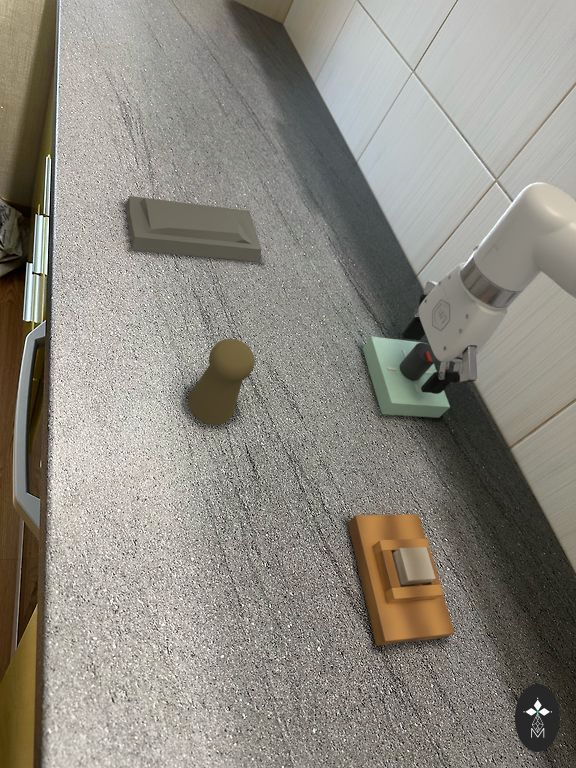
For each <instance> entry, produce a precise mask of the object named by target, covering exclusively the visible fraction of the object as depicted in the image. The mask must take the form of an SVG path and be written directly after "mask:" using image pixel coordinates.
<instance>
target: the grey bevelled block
mask: <svg viewBox="0 0 576 768" xmlns="http://www.w3.org/2000/svg"><path fill="white" fill-rule="evenodd" d="M124 206H125V212H126V218H127V219H126V220H127V224H128V231H129V238H130V244H131V250H132V251H135V252H146V253H157V254H166V255H167V254H168V255H177V256H178V255H179V256H187V257H188V256H189V257H198V258H199V257H201V258H211V259H221V260H222V259H224V260H231V261H233V260H234V261H245V262H253V263H254V262H256V263H261V256H262V255H261V254H262V247H261V244H260V241H259V238H258V234H257V231H256V227H255V224H254V221H253V217H252V214H251V211H250V210H245V209H237V208H229V207H222V206H213V205H206V204H199V203H190V202H181V201H175V200H168V199H167V200H165V199H158V198H149V197H142V196H135V195H129V196H128V198H127V200H126V201H125V204H124Z"/></svg>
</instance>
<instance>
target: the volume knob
mask: <svg viewBox="0 0 576 768" xmlns="http://www.w3.org/2000/svg"><path fill="white" fill-rule="evenodd" d="M437 361H438V359H437V358H436V357H435V355H434V353H433V351H432V349H431V346H430V344H429V343H426V342H422V343H418V344H416V346H415V347H414V348H413V349H412V350H411V352H410V353H409V354H408V355H407V356H406V357H405V359H404V360H403V361H402V362H401V364H400V371H401V373H402V374H403V375H404V376H405V377H406V378H408V379H410V380H413V381H416V380H419V379H420V378H421V377H422V376H423V375H424V374H425V372H426V371H427V370H428V369H429V368H430V367H431V366H432V365H433V364H434V365H435V363H436V362H437Z"/></svg>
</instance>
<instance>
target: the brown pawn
mask: <svg viewBox="0 0 576 768" xmlns="http://www.w3.org/2000/svg"><path fill="white" fill-rule="evenodd" d="M255 361H256V360H255V356H254V353H253V351H252V348H251V347H250V346H249V345H248V344H246V343H245V342H244V341H242V340H240V339H236V338H225V339H224V338H223V339H222V340H220V341H218V342H217V343H216V344H215V345H213V347H212V348H211V350H210V353H209V356H208V367H207V368H206V369H205V371H204V372H203V374H202V375H201V376H200V378H199V379H198V381H197V382H196V384H195V386H194V387H193V388H192V390H191V391H190V392H189V395H188V398H187V406H188V408H189V411H190V412H191V414H192V415H193V416H194V417H195V418H196V419H197V420H199V421H200V422H202V423H203V424H204V423H205V424H208V425H213V426H214V425H215V426H217V425H221V424H225V423H226V422H229V420H230V419H231V418H232V417H233V415H234V412H235V409H236V405H237V402H238V399H239V395H240V391H241V388H242V384H243V381H245V380H246V379H247V378H248V377H249V376H250V375H251V374H252V372H253V371H254V367H255Z"/></svg>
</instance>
